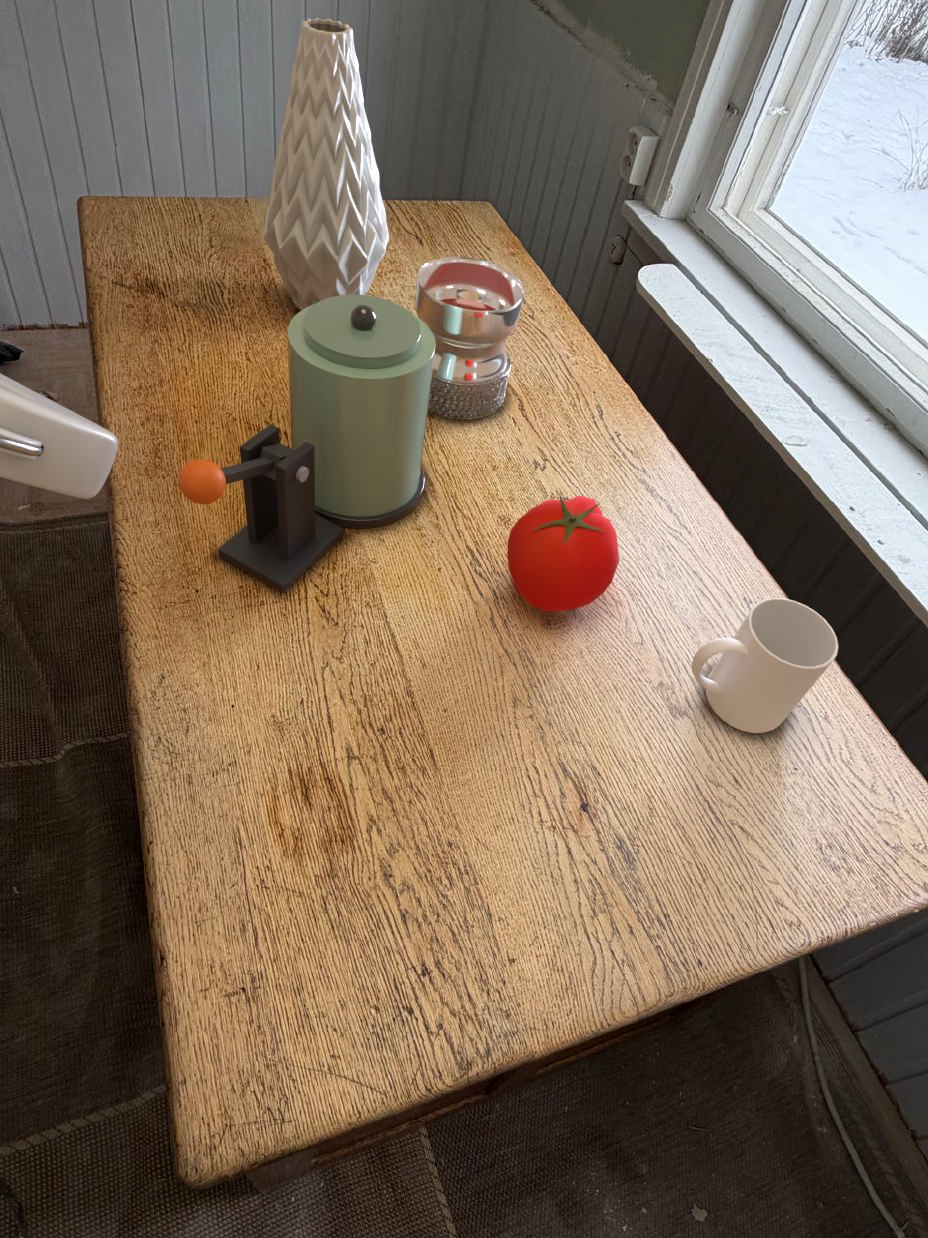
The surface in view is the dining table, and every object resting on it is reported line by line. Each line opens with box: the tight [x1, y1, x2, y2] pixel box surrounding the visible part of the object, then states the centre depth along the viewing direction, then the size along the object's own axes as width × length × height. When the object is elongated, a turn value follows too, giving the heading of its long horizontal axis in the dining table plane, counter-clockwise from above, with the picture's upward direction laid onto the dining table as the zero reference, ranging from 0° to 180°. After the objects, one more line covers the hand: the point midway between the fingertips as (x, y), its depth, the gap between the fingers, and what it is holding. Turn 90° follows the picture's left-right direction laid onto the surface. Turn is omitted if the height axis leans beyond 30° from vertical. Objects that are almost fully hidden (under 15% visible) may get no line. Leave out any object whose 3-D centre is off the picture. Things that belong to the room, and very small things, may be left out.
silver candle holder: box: [414, 256, 525, 421], centre depth 98 cm, size 13×18×15 cm
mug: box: [691, 597, 839, 734], centre depth 71 cm, size 12×8×10 cm, turn 102°
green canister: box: [286, 294, 436, 529], centre depth 80 cm, size 15×15×21 cm
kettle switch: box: [178, 442, 295, 505], centre depth 67 cm, size 13×4×4 cm, turn 150°
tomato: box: [506, 495, 620, 612], centre depth 77 cm, size 11×13×10 cm
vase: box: [263, 17, 390, 312], centre depth 99 cm, size 17×17×33 cm
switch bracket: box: [217, 423, 344, 593], centre depth 75 cm, size 10×8×13 cm
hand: (46, 421), depth 47 cm, fingers open, 8 cm apart
